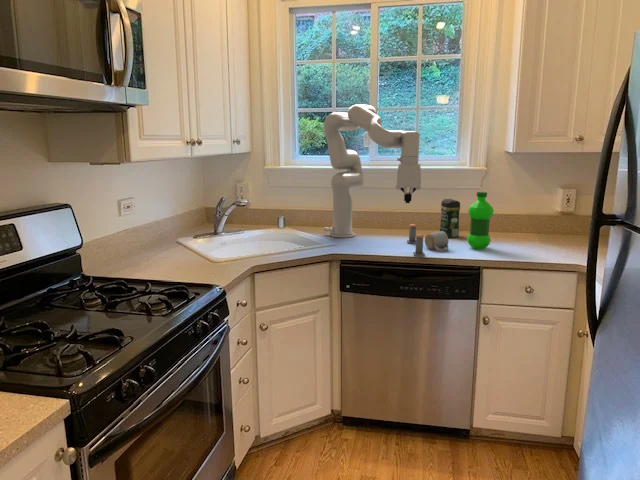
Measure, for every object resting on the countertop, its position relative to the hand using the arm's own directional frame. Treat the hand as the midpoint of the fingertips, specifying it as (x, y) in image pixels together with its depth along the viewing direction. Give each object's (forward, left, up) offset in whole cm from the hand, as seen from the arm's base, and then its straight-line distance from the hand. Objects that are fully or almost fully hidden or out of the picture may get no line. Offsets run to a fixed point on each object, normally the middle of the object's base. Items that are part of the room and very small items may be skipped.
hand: (407, 202), depth 217 cm
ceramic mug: (+14, -1, -21) cm, 25 cm away
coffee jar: (+24, +28, -21) cm, 42 cm away
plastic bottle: (+32, +2, -21) cm, 38 cm away
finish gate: (+4, 0, -21) cm, 21 cm away
